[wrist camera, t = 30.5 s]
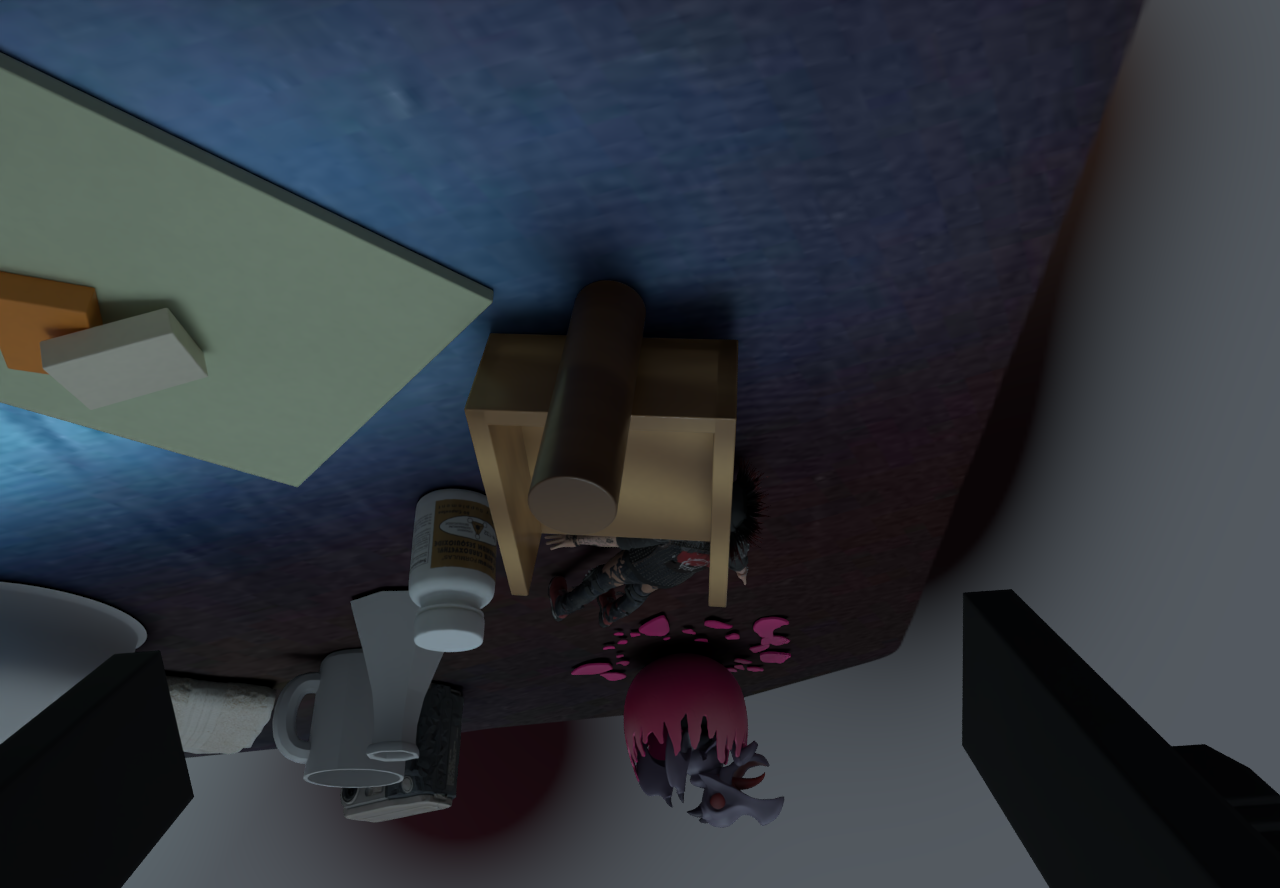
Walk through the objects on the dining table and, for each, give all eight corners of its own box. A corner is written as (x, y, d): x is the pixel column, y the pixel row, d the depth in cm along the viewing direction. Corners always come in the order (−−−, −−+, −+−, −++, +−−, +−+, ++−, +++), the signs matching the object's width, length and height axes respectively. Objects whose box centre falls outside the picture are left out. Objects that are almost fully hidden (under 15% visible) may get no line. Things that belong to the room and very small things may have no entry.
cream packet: (41, 369, 30) (38, 340, 31) (90, 411, 33) (86, 385, 33) (172, 333, 31) (167, 306, 31) (208, 377, 34) (204, 352, 34)
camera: (428, 676, 74) (418, 802, 69) (477, 689, 78) (471, 809, 73) (343, 703, 80) (328, 820, 74) (393, 714, 84) (382, 826, 78)
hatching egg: (718, 692, 83) (732, 846, 76) (554, 680, 77) (554, 847, 70) (840, 622, 67) (872, 808, 60) (647, 600, 61) (659, 804, 54)
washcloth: (109, 720, 81) (100, 754, 79) (120, 665, 68) (109, 705, 66) (246, 729, 86) (240, 762, 84) (281, 680, 73) (274, 717, 71)
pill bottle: (512, 499, 47) (508, 636, 43) (473, 529, 50) (466, 660, 46) (439, 477, 45) (427, 621, 41) (402, 510, 48) (388, 647, 44)
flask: (433, 579, 56) (420, 738, 51) (476, 616, 62) (469, 761, 57) (331, 594, 58) (309, 750, 52) (383, 629, 64) (368, 772, 58)
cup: (402, 678, 74) (391, 789, 69) (277, 667, 70) (257, 784, 65) (424, 652, 69) (414, 771, 64) (290, 639, 65) (269, 764, 60)
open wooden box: (728, 530, 43) (722, 720, 36) (528, 520, 44) (485, 703, 37) (741, 282, 32) (736, 484, 25) (478, 276, 33) (404, 469, 26)
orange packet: (7, 369, 33) (17, 344, 33) (103, 383, 34) (111, 358, 34) (-23, 294, 29) (-11, 268, 30) (85, 313, 30) (95, 286, 31)
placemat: (-222, 324, 33) (-230, 337, 32) (-198, -45, 21) (-209, -31, 21) (299, 477, 44) (297, 487, 44) (494, 290, 33) (493, 302, 33)
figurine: (480, 645, 52) (648, 523, 37) (486, 554, 55) (644, 407, 40) (670, 668, 58) (880, 571, 43) (666, 585, 61) (862, 467, 46)
